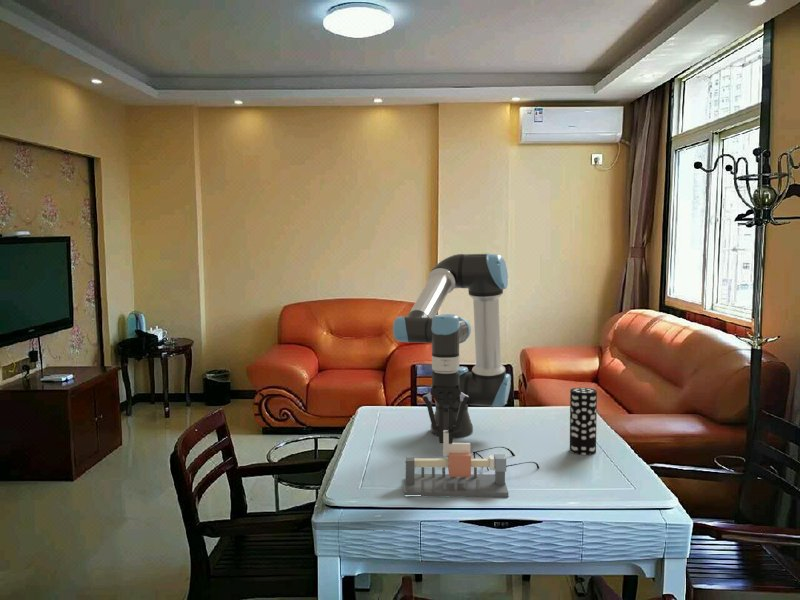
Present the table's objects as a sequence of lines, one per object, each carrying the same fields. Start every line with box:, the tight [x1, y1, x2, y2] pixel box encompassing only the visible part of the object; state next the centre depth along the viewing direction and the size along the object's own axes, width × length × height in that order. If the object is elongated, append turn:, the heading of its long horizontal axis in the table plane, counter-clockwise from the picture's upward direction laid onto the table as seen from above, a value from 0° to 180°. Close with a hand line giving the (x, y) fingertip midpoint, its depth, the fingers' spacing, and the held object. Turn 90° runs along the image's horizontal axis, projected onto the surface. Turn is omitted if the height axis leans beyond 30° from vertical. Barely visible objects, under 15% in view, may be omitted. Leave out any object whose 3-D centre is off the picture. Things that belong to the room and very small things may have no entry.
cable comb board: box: [403, 456, 509, 498], centre depth 185 cm, size 28×14×8 cm, turn 88°
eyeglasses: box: [472, 446, 540, 472], centre depth 203 cm, size 16×16×4 cm
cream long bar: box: [414, 453, 507, 473], centre depth 185 cm, size 27×4×4 cm, turn 88°
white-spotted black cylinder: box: [569, 387, 598, 456], centre depth 215 cm, size 8×8×20 cm
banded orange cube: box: [447, 442, 472, 477], centre depth 185 cm, size 6×6×8 cm
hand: (446, 454), depth 185 cm, fingers closed
